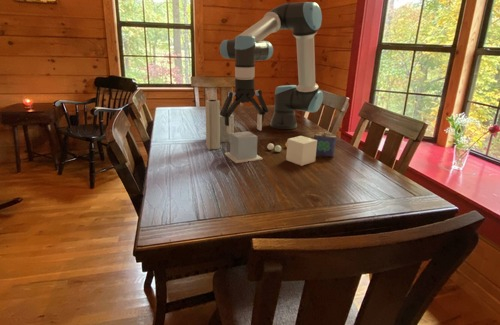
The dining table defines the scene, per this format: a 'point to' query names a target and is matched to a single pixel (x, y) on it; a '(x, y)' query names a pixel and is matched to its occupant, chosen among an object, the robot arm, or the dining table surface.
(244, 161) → the mat
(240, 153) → the pale sage cube
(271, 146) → the white marble
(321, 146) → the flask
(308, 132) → the dining table surface
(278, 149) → the green marble
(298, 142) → the beige rectangular block
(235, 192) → the dining table surface
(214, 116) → the paper towel roll
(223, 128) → the speckled beige cylinder
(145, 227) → the dining table surface
